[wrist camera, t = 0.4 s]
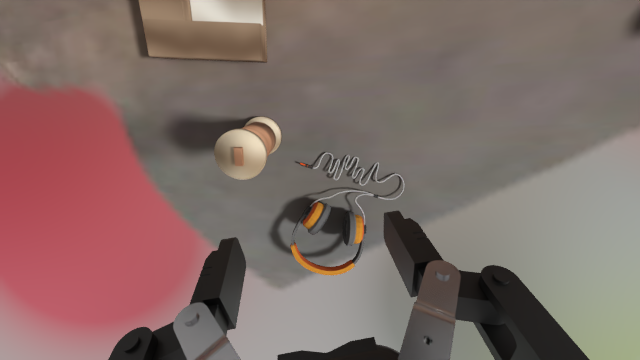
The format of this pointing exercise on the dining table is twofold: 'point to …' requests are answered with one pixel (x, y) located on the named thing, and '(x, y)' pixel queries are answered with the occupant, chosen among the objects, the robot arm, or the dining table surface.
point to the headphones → (352, 223)
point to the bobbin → (247, 148)
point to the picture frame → (205, 29)
